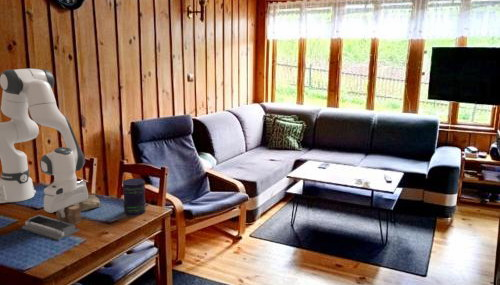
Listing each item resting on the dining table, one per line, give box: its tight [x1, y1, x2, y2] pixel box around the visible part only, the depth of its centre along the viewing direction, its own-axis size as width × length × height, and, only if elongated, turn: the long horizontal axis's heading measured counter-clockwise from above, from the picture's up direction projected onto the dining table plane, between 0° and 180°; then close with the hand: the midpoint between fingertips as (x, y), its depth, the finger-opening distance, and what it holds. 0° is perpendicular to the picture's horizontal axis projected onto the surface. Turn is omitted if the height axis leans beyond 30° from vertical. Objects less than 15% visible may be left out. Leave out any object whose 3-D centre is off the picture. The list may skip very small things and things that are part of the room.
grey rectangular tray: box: [21, 214, 80, 241], centre depth 168 cm, size 22×10×3 cm, turn 64°
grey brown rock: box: [77, 194, 101, 212], centre depth 193 cm, size 14×5×20 cm
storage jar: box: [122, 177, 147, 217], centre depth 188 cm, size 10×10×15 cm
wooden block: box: [55, 205, 82, 226], centre depth 177 cm, size 12×4×7 cm, turn 64°
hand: (68, 215), depth 177 cm, fingers closed on wooden block, 3 cm apart
